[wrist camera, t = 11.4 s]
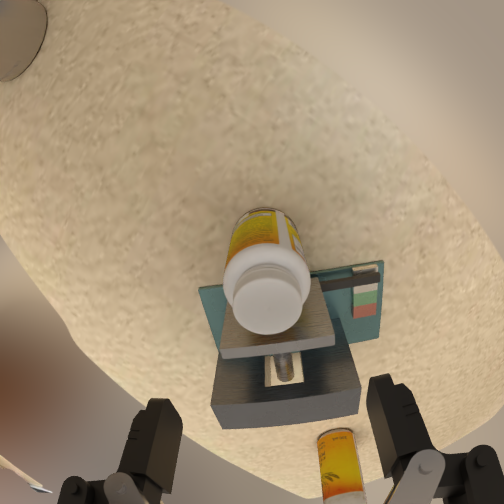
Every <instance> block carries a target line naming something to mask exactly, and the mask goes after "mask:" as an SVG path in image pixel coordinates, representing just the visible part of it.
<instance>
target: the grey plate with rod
mask: <svg viewBox="0 0 504 504" xmlns="http://www.w3.org/2000/svg"><path fill="white" fill-rule="evenodd" d="M380 276H381V274H380V273H379V272H375V273H369V274H364V275H358V276H352V277H346V278H340V279H333V280H327V281H321V282H319V280H318V277H315V278H311V286H310V292H309V294H308V297H307V299H306V301H305V302H304V303H303V306H302V312H301V315H300V317H299V319H298V320H297V322H296V323H295V324H294V325H293V326H291V327H290V328H289V329H287V330H285V331H283V332H280V333H276V334H269V335H264V334H257V333H254V332H251V331H249V330H247V329H246V328H244V327H243V326H242V325H240V323H239V322H238V321H237V320H236V318H235V316H234V313H233V308H232V306H231V305H230V303H229V302H228V300H227V306H226V312H225V318H224V324H223V330H222V336H221V342H220V348H219V350H220V353H221V356H222V359H231V358H242V357H252V356H261V355H270V354H273V357H274V362H275V367H276V372H277V377H278V379H279V380H280V381H283V382H287V381H290V380H292V379H293V377H294V369H293V362H292V354H291V352H294V351H301V350H308V349H314V348H320V347H327V346H333V345H335V333H334V330H333V327H332V323H331V320H330V316H329V313H328V309H327V306H326V303H325V299H324V296H323V293H322V292H327V291H333V290H339V289H345V288H351V287H356V286H362V285H368V284H373V283H379V282H380Z"/></svg>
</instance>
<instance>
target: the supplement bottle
mask: <svg viewBox="0 0 504 504" xmlns="http://www.w3.org/2000/svg"><path fill="white" fill-rule="evenodd" d="M310 286H311V278H310V272H309V269H308V265H307V262H306V258H305V255H304V251H303V248H302V245H301V242H300V238H299V235H298V232H297V229H296V227H295V225H294V223H293V222H292V220H291V219H290V218H289V217H288V216H287V215H285V214H284V213H282V212H280V211H278V210H275V209H270V208H260V209H255V210H252V211H250V212H248V213H247V214H245V215H244V216H243V217H242V218H240V220H239V221H238V222H237V224H236V225H235V227H234V230H233V233H232V238H231V243H230V247H229V252H228V257H227V261H226V266H225V271H224V276H223V289H224V293H225V296H226V298H227V300H228V302H229V303H230V305H231V306H232V308H233V313H234V316H235V318H236V320H237V321H238V322H239V323H240V325H242V326H243V327H244V328H246V329H247V330H249V331H251V332H254V333H257V334H264V335H269V334H276V333H280V332H283V331H285V330H287V329H289V328H290V327H291V326H293V325H294V324H295V323H296V322H297V320H298V319H299V317H300V315H301V312H302V306H303V303H304V302H305V301H306V299H307V297H308V294H309V292H310Z"/></svg>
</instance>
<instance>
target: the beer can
mask: <svg viewBox="0 0 504 504" xmlns="http://www.w3.org/2000/svg"><path fill="white" fill-rule="evenodd" d="M317 446H318V455H319V464H320V473H321V483H322V493H323V503H324V504H367V499H366V493H365V487H364V482H363V476H362V471H361V466H360V461H359V455H358V451H357V446H356V441H355V436H354V434H353V433H351V432H350V431H349V430H347V429H335V430H331V431H328V432H326V433H324V434H323V435H322V436H321V437H320V439H319V440H318V442H317Z"/></svg>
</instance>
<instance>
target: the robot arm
mask: <svg viewBox="0 0 504 504" xmlns="http://www.w3.org/2000/svg"><path fill="white" fill-rule="evenodd" d="M46 23H47V17H46V12H45V9H44V7H43V6H42V5H41V4H40V3H38V2H37V1H36V0H0V81H8V80H12V79H14V78H15V77H17V76H19V75H20V74H21V73H22V72H23V71H24V70H25V69H26V68H27V67H28V66H29V64H30V63H31V61H32V60H33V59H34V57H35V55H36V53H37V52H38V50H39V48H40V45H41V43H42V40H43V38H44V34H45V30H46ZM366 405H367V411H368V415H369V419H370V422H371V426H372V430H373V434H374V437H375V441H376V445H377V449H378V453H379V457H380V461H381V465H382V469H383V474H384V478H389V477H392V478H393V482H394V486H393V487H392V489H391V491H390V493H389V495H388V497H387V498H386V500H385V502H384V504H430V503H431V500H432V498H443V503H444V504H504V475H503V472H502V469H501V466H500V463H499V460H498V457H497V454H496V452H495V450H494V449H493V448H492V447H490V446H488V445H479V446H476V447H474V448H473V449H472V450H471V451H470V452H468V453H458V454H445V453H441V452H440V451H438V450H437V449H436V448H435V447H434V446H433V445H432V442H431V440H430V437H429V434H428V432H427V429H426V426H425V424H424V421H423V419H422V416H421V413H420V412H419V408H418V406H417V404H416V401H415V399H414V396H413V394H412V391H411V390H409V389H408V388H407V387H406V386H405V385H404V384H403V383H401V384H397V385H394V383H393V381H392V378H391V376H390V374H388V373H387V374H383V375H379V376H375V377H371V378H370V380H369V386H368V392H367V398H366ZM130 430H131V431H130V432H129V435H128V440H127V442H126V445H125V448H124V451H123V455H122V458H121V461H120V465H119V468H118V470H117V472H116V473H113V474H111V475H110V476H109V477H108V478H107V479H106V480H99V481H87V482H86V481H85V480H84V479H82V478H81V477H78V476H71V477H69V478H67V479H66V480H65V481H64V483H63V485H62V488H61V492H60V496H59V499H58V503H57V504H164V503H163V502H162V500H161V496H162V493H166V494H171V491H172V485H173V479H174V473H175V468H176V463H177V457H178V452H179V446H180V441H181V436H182V430H183V423H182V419H181V417H180V415H179V414H178V412H177V411H176V409H175V408H174V406H173V404H172V403H171V401H170V400H169V399H163V398H151V399H150V400H149V401H148V404H147V407H146V410H140V411H139V413H138V414H137V415H136V416H135V418H134V419H133V422H132V425H131V429H130Z"/></svg>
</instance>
